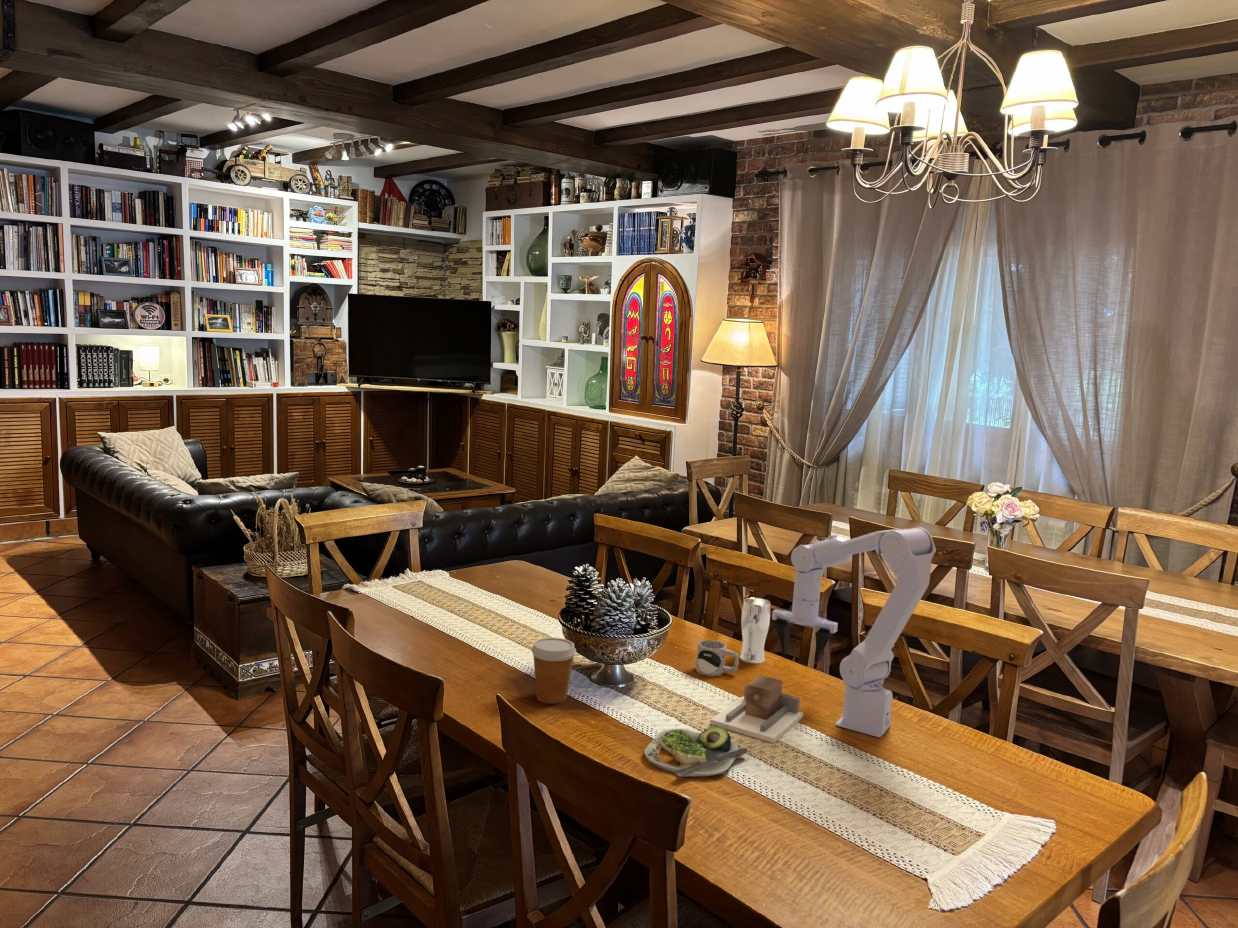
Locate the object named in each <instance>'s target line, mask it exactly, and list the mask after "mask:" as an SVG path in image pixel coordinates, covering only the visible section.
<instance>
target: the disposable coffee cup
mask: <svg viewBox="0 0 1238 928" xmlns="http://www.w3.org/2000/svg"><path fill="white" fill-rule="evenodd" d="M531 653H532V656H533V662H534V663H533V666H534V680H535V690H536V691H535V692H536V699H537V701H539V702H542V703H544V704H550V705H551V704H560V703H563V702H564V701H566V699H567V694H568V688H569V683H570V679H571V673H572V667H573V661H574V657H575V654H576V653H577V649H576V648H575V643H574V642H573V641H571V640H568V639H565V638H561V637H559V638H558V637H544V638H543V637H542V638H540V639H537V640H535V641H534V643H533V645H532V647H531Z"/></svg>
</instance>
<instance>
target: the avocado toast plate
mask: <svg viewBox="0 0 1238 928" xmlns="http://www.w3.org/2000/svg"><path fill="white" fill-rule="evenodd" d="M661 749H663V750H664V751H665V752H667V753H669V754H671V755H673V757H674V759H675V761H674V763H667V762H664V761H662V760H661V758H660V755H659V753H660V752H661ZM643 751H644V752H643V753H644V757H645V758H646V759H647V761H648V762H649V763H651V764H652V765H654V767H657V768H658V769H660V770H662V771H666V772H669V773H671V774H675V776H676V777H680V778H681V777H683V778H684V777H691V778H692V777H711V776H717V775H719V776H720V775H722V774H724V773H725V772H726V771H728V770H729V769H730V768H731V766H732V765H733V763H734V761H735V760H736V759H738V758H740V757H742V756H743V755H744V754H747V753H748V752H749V750H748V748H745V747H742V748H741V747H740V748H739V746H738V745H737V744H736V743H735V742H733V741H731V735H730V733H729V730H728V729H725V728H721V727H718V726H709V727H708V728H704V731H702V732H696V731H695V730H694V731H693V730H690V729H686V728H670V729H665V730H662V731H661V732H659V733H657V734H656V735H655V737H654V738H653V739H652V740H651V741H650V743H648V744H647V746H646V747H645V748H644V750H643Z"/></svg>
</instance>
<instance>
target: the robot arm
mask: <svg viewBox="0 0 1238 928" xmlns="http://www.w3.org/2000/svg"><path fill="white" fill-rule="evenodd" d="M827 538H828V539H827ZM827 538H826V539H824V540H821V541H820V540H819V539H816V540H813V541H811V543H812V544H811V543H809V544H799V545H798V546H796V547H795V548H793V549H792V552H791V555H790V556H791V557H790V560H791V564H792V566H793V568H794V569H795V572H794V573H795V574H794V584H793V585H794V586H793V597H792V606H791V607H792V608H791V609H792V610H791V611H789V610H788V611H787V610H781V609H774V610H773V611H772V612H771V613H772V615H771V619H772V620H773V621H776V622H775V623H774V625H773V626H774V628H775V631H776V633H777V636H778V639H779V643H780V649H781V654H782V655H786V654H787V653H788V652H789V649H790V635H791V630H792V625H793V624H795V625H800V626H803V627H804V626H805V627H809V628H813V629H816V630H817V629H818V631H816V632H815V634H814V635H815V650H814V651H815V653H814V662H815V663H819V662H821V660H822V657H823V656H822V655H823V652H824V650H825V648H826V646H827V644H828V642H829V640H830V638H831V637H832V635H833V634H835V633H836V632H838V625H839V624H838V622H835V621H831V620H829V619H826V618H823V617H820V616H819V609H820V601H821V600H820V597H821V589H822V587H821V586H822V577H823V576H824V572H825V569H826V568H830V567H833V566H837V565H842V564H845V563H848V562H849V561H850V560H851V559H852V556H853V555H857V554H861V553H866V552H871V551H874V550H875V553H876V554H877V555H881V556H882V558H883V559H884V560H885V562H886V564H887V565H888V566H889V568H890V570H891V572H892V574H893V575H894V577H896V579H897V582H896V584H895V585H894V588H893V589H892V591H891V593H890V594H889V596H888V598H887V600H886V601H885V603H884V605H883V607H882V608H881V610H880V612H879V614H878V615H877V617H876V619H875V621H874V623H873V624H872V625H871V628H870V630H869V631H868V634H867V635H866V637H865V638H864V640H863V641H862V642H860V643H859V644H858V645H857V646H856V647H855V646H854V648H853V649H852V650H851V652H850V654H849V655H847V656H845V657H844V658H842V660H841V661H840V663H839V674H840V677H841V678H842V680H843V681H844V682H843V685H845V689H844V698H843V709H842V716H840V718H839V719H838V720H837V721H836V722H835V726H837V727H839V728H844V729H847V730H851V731H853V732H854V731H855V732H859V733H862V734H864V735H865V734H866V735H869V736H873V737H876V738H882V736H883V735H884V734H885V733H886V731H887V730H888V729H889V728H890V727H891V719H892V718H891V716H892V708H893V707H892V706H893V692H892V691H891V690H889V689H887V688H884V686H882V685H884V682H885V681H884V680H885V679H887V677H888V676H889V675H890V672H891V668H892V661H893V660H894V658H895V655H894V653H893V651H892V649H893V647H894V646H895V643H896V642H897V640H898V639H899V636H900V635H901V634H902V632H903V631H904V629H905V627H906V625H907V623H908V621H909V620H910V618H911V616H912V614H913V613H914V611H915V609H916V608H917V606H918V605H919V603H920V601H921V599H922V597H923V596H924V594H925V592H926V591H927V589H928V587H929V585H930V581H931V580H930V579H931V570H932V569H931V567H932V561H933V560H932V559H933V557H934V555H935V554H936V551H937V549H936V546H935V543H934V540H933V537H932V535H931V533H930V532H929V530H927V529H926V528H924V527H920V526H915V527H912V528H896V529H885V530H878V531H874V532H873V531H872V532H870V533H867V534H863V535H860V536H857V537H854V538H850V539H847V538H846V537H844V536H839V535H837V534H832V535H828V537H827Z"/></svg>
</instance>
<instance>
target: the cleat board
mask: <svg viewBox="0 0 1238 928" xmlns="http://www.w3.org/2000/svg"><path fill="white" fill-rule="evenodd" d="M746 697H747V684H746V685H745V686H744V695H743V696H741V697H739V698H738V699H737V700H735V701H733V703H731V704H730V705H729V706H727V707H725V708H724V709H723V710H722V711H720V712H719V713H717V714H716V715H714V716H713V717H712V718H711V719H710V720H709V721H710V722H709V723H710V724H709V725H713V726H714V727H721V728H724V729H725V730H727V731H732V732H736V733H738V734H743V735H745V736H749V737H751V738H755V739H758V740H763V741H765V742H769V743H771V744H775V743H776V742H777V741H778V740H779V739H780V738H782V737H783V736H784V735H785V734H786V733H787V732H788V731H790V730H791V729H792V728H793V727H794V726H795V725H796V724H797V723H798V722H799V721H801V720H802V718H804V712H802V711H800V703H801V702H800V700H801V698H800V697H796V696H794V695H793V696H792V695H791V694H787V693H783V692H782V694H781V706H780V709H779V710H778V711H777V712H776V713H774V714H773V715H772V716H771V717H770V718H768V719H767V720H764V719H760V718H757V717H753V716H750V715H746V714H745V709H746Z"/></svg>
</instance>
